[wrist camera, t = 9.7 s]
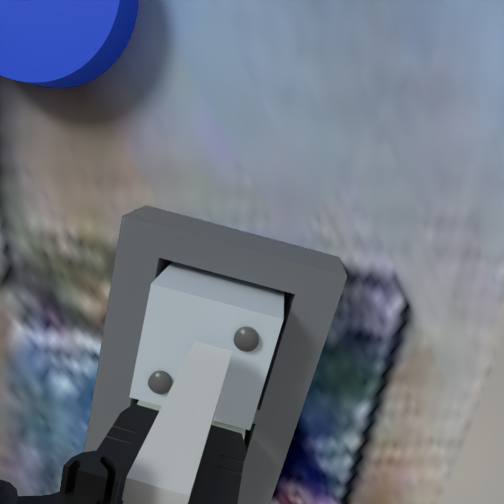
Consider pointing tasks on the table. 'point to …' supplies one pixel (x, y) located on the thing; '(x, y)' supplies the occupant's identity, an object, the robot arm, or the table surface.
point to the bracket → (62, 39)
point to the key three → (208, 336)
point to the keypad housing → (237, 266)
